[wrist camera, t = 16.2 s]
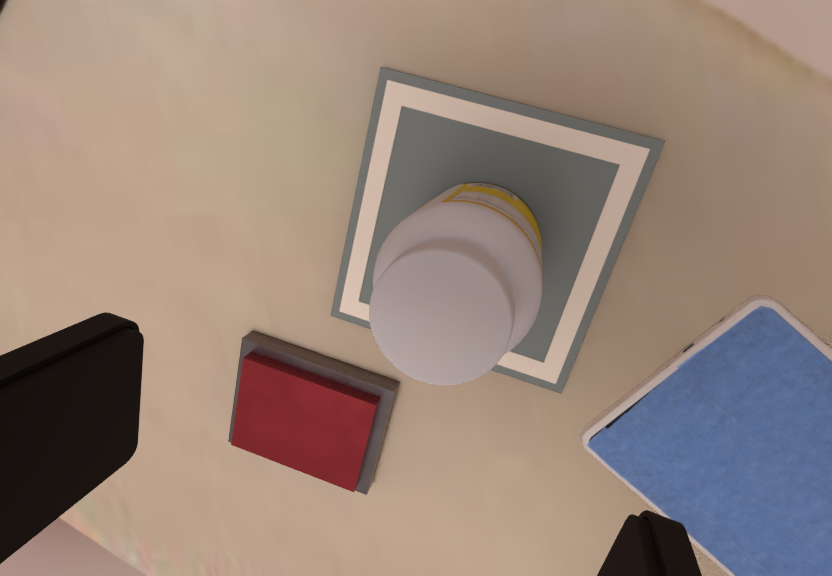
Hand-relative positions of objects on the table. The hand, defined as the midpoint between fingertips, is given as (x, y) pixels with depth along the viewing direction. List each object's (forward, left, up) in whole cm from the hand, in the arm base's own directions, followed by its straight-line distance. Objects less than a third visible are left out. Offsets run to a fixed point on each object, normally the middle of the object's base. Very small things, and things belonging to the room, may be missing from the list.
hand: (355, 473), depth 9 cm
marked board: (0, 0, -19) cm, 19 cm away
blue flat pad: (-20, +8, -20) cm, 29 cm away
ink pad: (+7, +14, -19) cm, 25 cm away
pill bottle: (0, 0, -19) cm, 19 cm away
